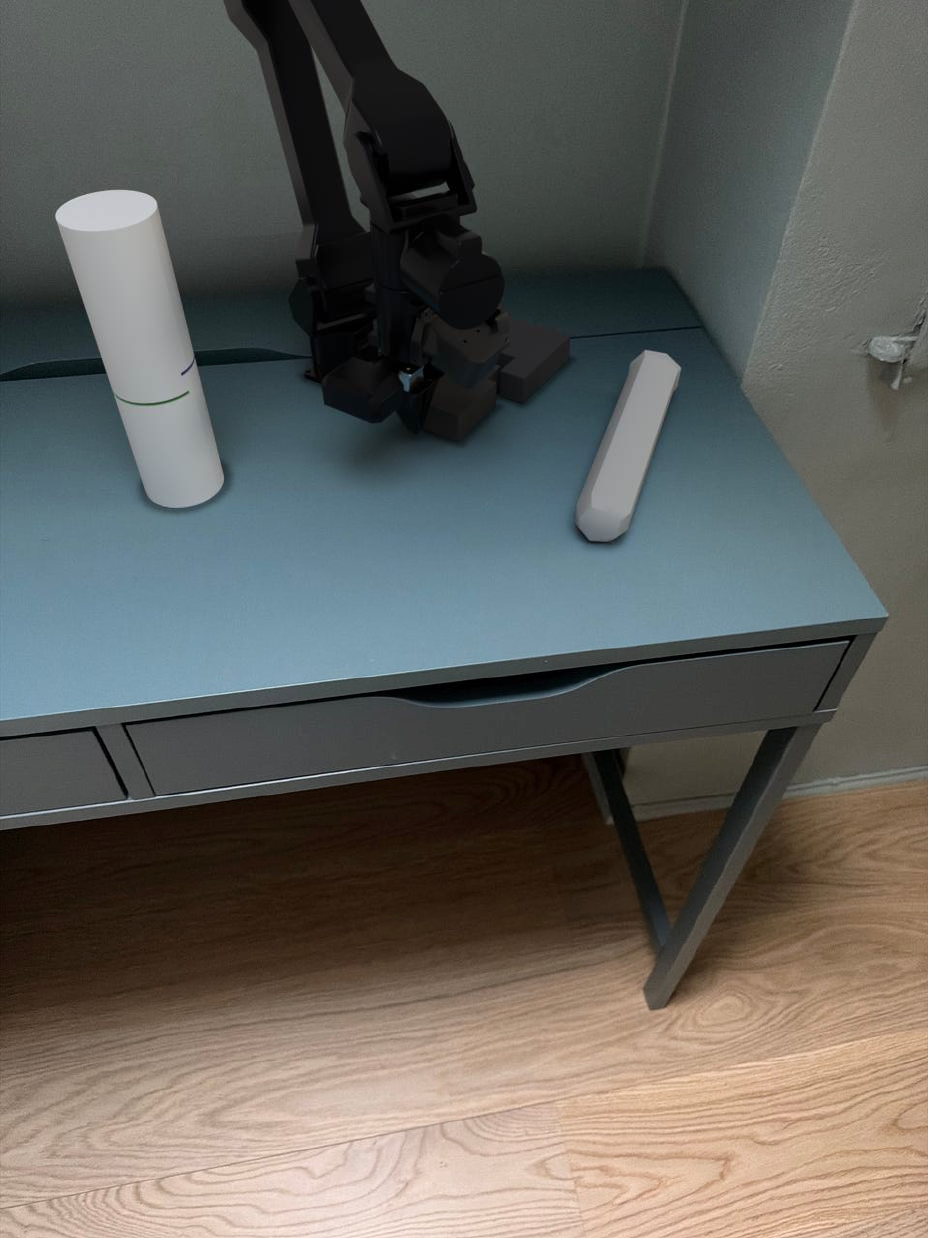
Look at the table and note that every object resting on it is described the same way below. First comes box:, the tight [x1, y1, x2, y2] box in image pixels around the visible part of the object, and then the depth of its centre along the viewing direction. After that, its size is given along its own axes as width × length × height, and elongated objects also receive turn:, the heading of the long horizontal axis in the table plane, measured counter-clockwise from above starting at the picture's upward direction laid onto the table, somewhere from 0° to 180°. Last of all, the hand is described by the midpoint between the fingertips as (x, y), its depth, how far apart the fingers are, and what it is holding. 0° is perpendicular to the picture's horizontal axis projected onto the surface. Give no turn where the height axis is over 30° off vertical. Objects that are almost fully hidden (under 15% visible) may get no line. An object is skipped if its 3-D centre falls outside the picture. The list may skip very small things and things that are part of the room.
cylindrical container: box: [54, 189, 225, 509], centre depth 74 cm, size 7×7×25 cm
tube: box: [574, 349, 682, 542], centre depth 84 cm, size 5×5×25 cm
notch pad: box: [496, 315, 572, 405], centre depth 96 cm, size 10×10×3 cm
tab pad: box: [422, 364, 500, 443], centre depth 91 cm, size 6×10×3 cm, turn 147°
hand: (415, 431), depth 86 cm, fingers closed
